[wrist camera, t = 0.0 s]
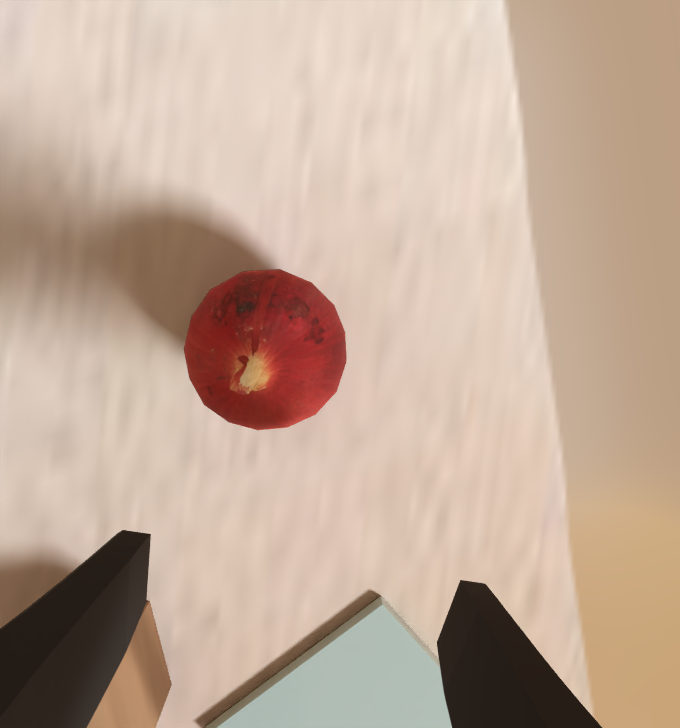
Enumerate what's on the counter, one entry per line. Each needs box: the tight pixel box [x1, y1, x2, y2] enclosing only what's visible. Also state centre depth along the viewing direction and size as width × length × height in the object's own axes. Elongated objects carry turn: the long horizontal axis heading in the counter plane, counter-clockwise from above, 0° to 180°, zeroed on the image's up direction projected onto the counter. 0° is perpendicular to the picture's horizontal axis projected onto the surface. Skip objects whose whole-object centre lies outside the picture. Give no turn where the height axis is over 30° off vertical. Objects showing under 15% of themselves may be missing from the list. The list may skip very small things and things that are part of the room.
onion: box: [184, 269, 346, 430], centre depth 15 cm, size 6×6×8 cm
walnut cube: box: [87, 601, 172, 728], centre depth 19 cm, size 5×5×5 cm
